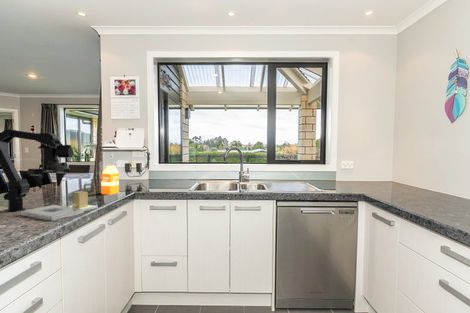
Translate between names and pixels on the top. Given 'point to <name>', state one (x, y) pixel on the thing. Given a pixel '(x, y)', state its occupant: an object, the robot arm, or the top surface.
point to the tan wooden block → (80, 199)
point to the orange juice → (110, 180)
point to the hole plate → (52, 212)
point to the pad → (86, 207)
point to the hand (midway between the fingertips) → (49, 187)
